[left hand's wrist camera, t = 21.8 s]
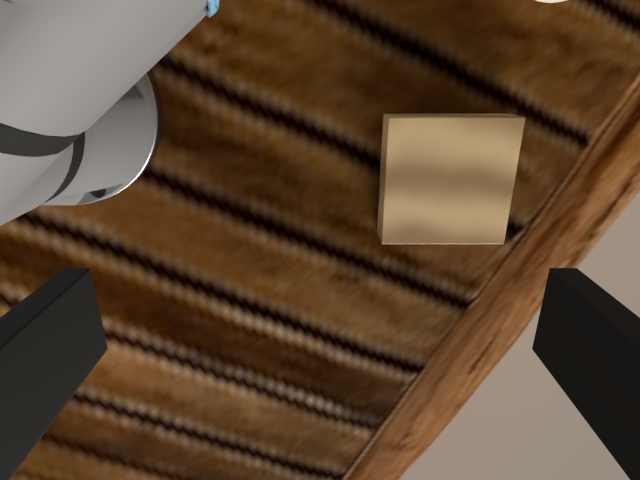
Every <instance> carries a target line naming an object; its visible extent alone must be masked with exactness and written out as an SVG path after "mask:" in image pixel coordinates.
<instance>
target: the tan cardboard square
mask: <svg viewBox="0 0 640 480" xmlns="http://www.w3.org/2000/svg"><path fill="white" fill-rule="evenodd" d="M524 123H525V118H524V117H520V116H516V115H512V114H383V130H382V149H381V168H380V187H379V206H378V225H377V232H378V234H379V238H380V240H381V243H382V244H504V240H505V234H506V228H507V222H508V217H509V211H510V205H511V199H512V193H513V187H514V181H515V175H516V170H517V164H518V158H519V152H520V146H521V140H522V134H523V129H524Z"/></svg>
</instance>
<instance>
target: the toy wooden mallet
mask: <svg viewBox="0 0 640 480" xmlns="http://www.w3.org/2000/svg"><path fill="white" fill-rule="evenodd" d="M536 1H540V2H546V3H555V2H561V1H566V0H536Z"/></svg>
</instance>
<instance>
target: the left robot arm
mask: <svg viewBox="0 0 640 480" xmlns="http://www.w3.org/2000/svg"><path fill="white" fill-rule="evenodd" d="M218 8H219V0H0V225H2V224H4V223H6V222H8V221H10V220H12V219H14V218H16V217H18V216H20V215H22V214H24V213H26V212H28V211H30V210H32V209H34V208H36V207H38V206H40V205H82V204H88V203H93V202H96V201H100V200H103V199H106V198H109V197H111V196H113V195H115V194H117V193H119V192H120V191H122V190H124V189H125V188H127V187H128V186H130V185H131V184H133V183H134V182H135V181H136V180H137V179H138V178H139V177H140V176H141V175H142V174H143V173H144V172H145V170H146V169H147V168H148V166H149V165H150V163H151V161H152V160H153V158H154V155H155V153H156V151H157V148H158V145H159V141H160V136H161V129H162V109H161V101H160V96H159V92H158V89H157V85H156V82H155V80H154V77H153V74H152V72H151V70H150V69H151V68H152V67H153V66H154V65H155V64H156V63H157V62H158V61H159V60H160V59H161V58H162V57H163V56H164V55H165V54H166V53H168V52H169V51H170V50H171V49H172V48H173V47H174V46H175V45H176V44H177V43H178V42H179V41H180V40H181V39H182V38H183V37H184V36H185V35H186V34H187V33H188V32H189V31H190V30H191V29H192V28H193V27H194V26H195V25H196V24H198V23H199V22H200V21H201V20H202V19H203V18H204V17H205V16H208V17H209V18H210V17H211V16H212V15H213V14H215V13H216V11H217V9H218ZM107 349H108V348H107V343H106V339H105V334H104V330H103V325H102V320H101V316H100V311H99V307H98V302H97V298H96V293H95V288H94V284H93V279H92V275H91V270H90V268H63V269H62V270H61V271H59V272H58V273H57V274H55V275H54V276H53V277H52V278H50V279H49V280H48V281H47V282H45V283H44V284H43V285H41V286H40V287H39V288H38V289H36V290H35V291H34V292H33V293H31V294H30V295H29V296H28V297H26V298H25V299H24V300H22V301H21V302H20V303H19V304H17V305H16V306H15V307H14V308H12V309H11V310H10V311H9V312H7V313H6V314H5V315H3V316H2V317H1V318H0V480H10V478H11V477H12V476H13V474H14V473H15V472H16V470H17V469H18V468H19V466H20V465H21V464H22V462H23V461H24V460H25V458H26V457H27V456H28V454H29V453H30V452H31V450H32V449H33V448H34V446H35V445H36V444H37V442H38V441H39V440H40V439H41V437H42V436H43V435H44V433H45V432H46V431H47V429H48V428H49V427H50V425H51V424H52V423H53V421H54V420H55V419H56V417H57V416H58V415H59V413H60V412H61V411H62V409H63V408H64V407H65V405H66V404H67V403H68V401H69V400H70V399H71V397H72V396H73V395H74V393H75V392H76V391H77V389H78V388H79V387H80V385H81V384H82V383H83V381H84V380H85V379H86V377H87V376H88V375H89V373H90V372H91V371H92V369H93V368H94V367H95V365H96V364H97V363H98V361H99V360H100V359H101V357H102V356H103V355H104V353H105V352H106V351H107ZM532 349H533V351H534V352H535V353H536V355H537V356H538V357H539V359H540V360H541V361H542V363H543V364H544V365H545V367H546V368H547V369H548V371H549V372H550V373H551V374H552V376H553V377H554V378H555V380H556V381H557V382H558V384H559V385H560V387H561V388H562V389H563V391H564V392H565V393H566V395H567V396H568V397H569V398H570V400H571V401H572V403H573V404H574V405H575V407H576V408H577V409H578V411H579V412H580V413H581V415H582V416H583V417H584V419H585V420H586V421H587V423H588V424H589V425H590V427H591V428H592V429H593V431H594V432H595V433H596V435H597V436H598V437H599V439H600V440H601V441H602V442H603V444H604V445H605V446H606V448H607V449H608V450H609V452H610V453H611V454H612V456H613V457H614V458H615V460H616V461H617V462H618V464H619V465H620V466H621V468H622V469H623V470H624V472H625V473H626V474H627V476H628V477H629V478H630V480H640V318H639V317H638V316H637V315H635V314H634V313H633V312H631V311H630V310H629V309H628V308H626V307H625V306H624V305H623V304H621V303H620V302H619V301H618V300H616V299H615V298H614V297H612V296H611V295H610V294H609V293H607V292H606V291H605V290H604V289H602V288H601V287H600V286H598V285H597V284H596V283H595V282H593V281H592V280H591V279H590V278H588V277H587V276H586V275H585V274H583V273H582V272H581V271H579V270H578V269H577V268H550V270H549V275H548V279H547V284H546V288H545V293H544V298H543V302H542V307H541V311H540V316H539V321H538V325H537V330H536V334H535V339H534V344H533V348H532Z"/></svg>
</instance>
